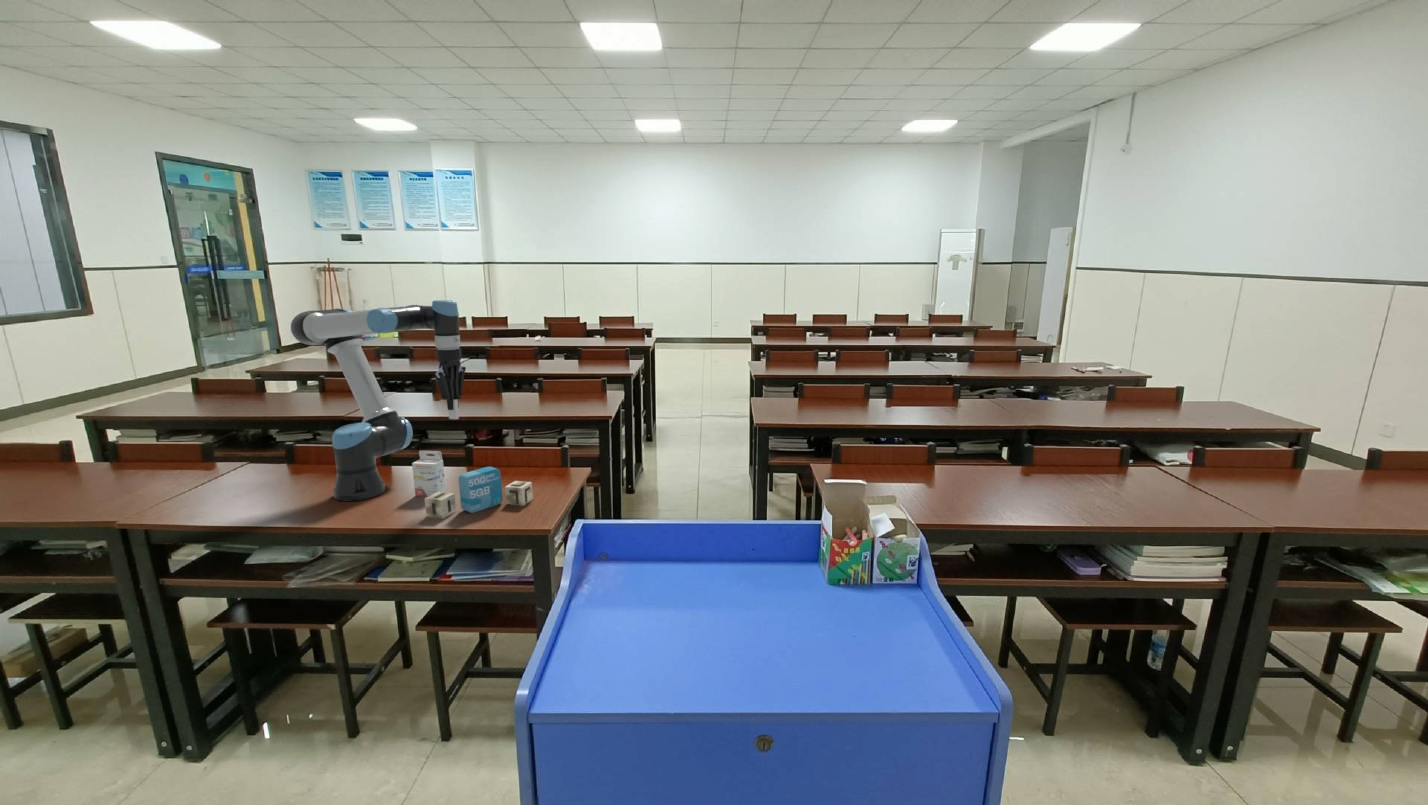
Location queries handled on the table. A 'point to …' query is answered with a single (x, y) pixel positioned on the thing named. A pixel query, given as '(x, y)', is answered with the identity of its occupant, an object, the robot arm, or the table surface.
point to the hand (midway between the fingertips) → (454, 418)
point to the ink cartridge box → (428, 474)
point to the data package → (480, 489)
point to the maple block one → (440, 505)
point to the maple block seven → (519, 493)
